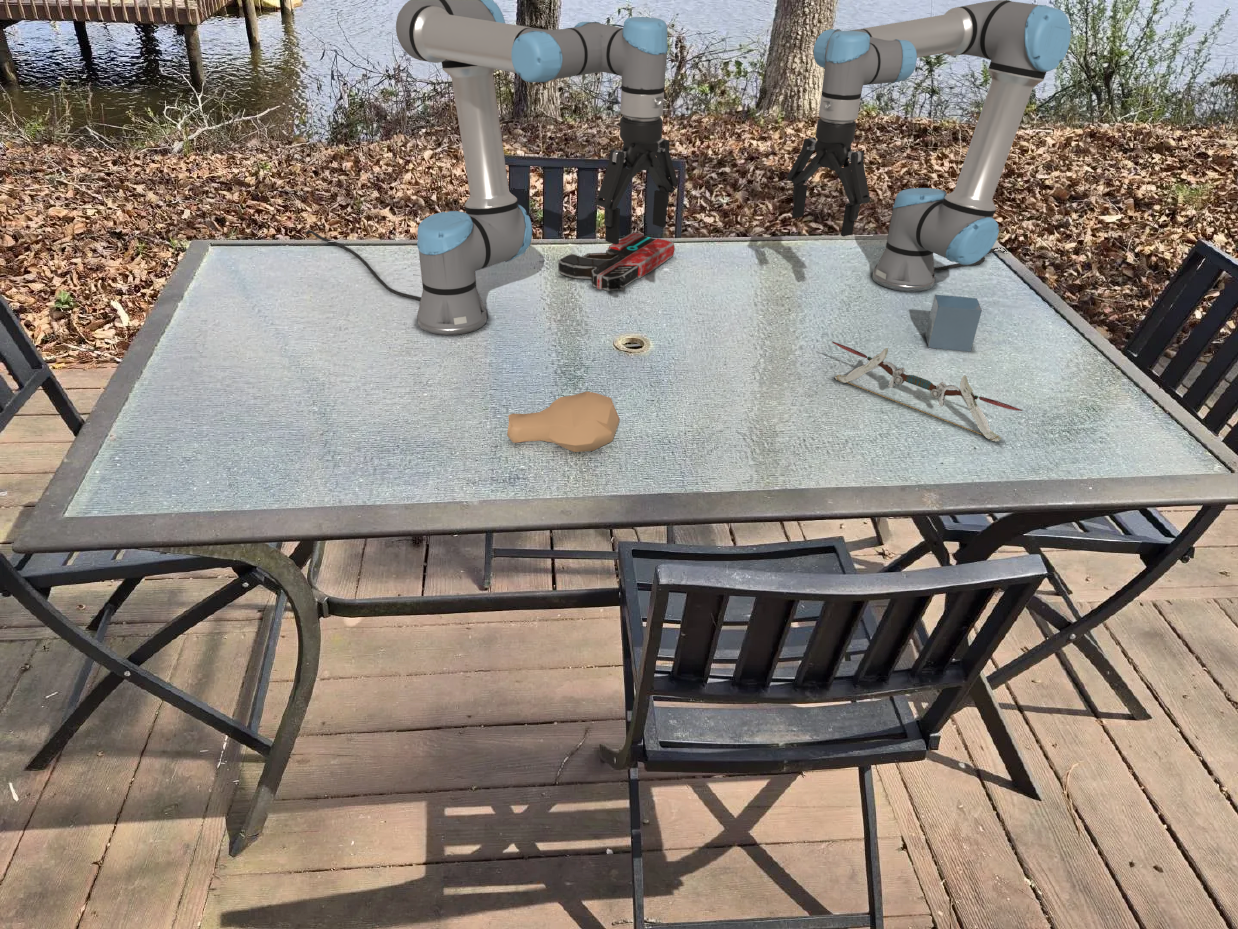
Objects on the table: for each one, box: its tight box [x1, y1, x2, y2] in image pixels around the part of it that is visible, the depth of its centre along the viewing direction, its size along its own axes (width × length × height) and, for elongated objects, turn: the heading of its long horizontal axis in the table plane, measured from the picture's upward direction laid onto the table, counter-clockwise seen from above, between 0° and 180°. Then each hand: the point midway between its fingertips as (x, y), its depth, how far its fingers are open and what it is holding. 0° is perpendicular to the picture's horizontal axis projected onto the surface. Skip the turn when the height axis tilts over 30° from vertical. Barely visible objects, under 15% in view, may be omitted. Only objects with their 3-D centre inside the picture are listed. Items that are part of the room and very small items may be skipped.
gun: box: [557, 232, 676, 292], centre depth 225 cm, size 4×31×19 cm
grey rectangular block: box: [925, 294, 983, 352], centre depth 192 cm, size 7×9×10 cm
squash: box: [506, 390, 621, 453], centre depth 154 cm, size 11×20×9 cm, turn 90°
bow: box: [831, 341, 1023, 443], centre depth 166 cm, size 39×2×10 cm, turn 47°
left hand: (636, 233), depth 166 cm, fingers open, 13 cm apart
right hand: (821, 225), depth 184 cm, fingers open, 13 cm apart
